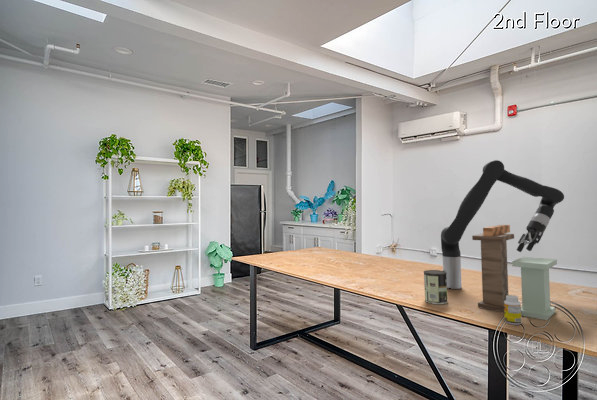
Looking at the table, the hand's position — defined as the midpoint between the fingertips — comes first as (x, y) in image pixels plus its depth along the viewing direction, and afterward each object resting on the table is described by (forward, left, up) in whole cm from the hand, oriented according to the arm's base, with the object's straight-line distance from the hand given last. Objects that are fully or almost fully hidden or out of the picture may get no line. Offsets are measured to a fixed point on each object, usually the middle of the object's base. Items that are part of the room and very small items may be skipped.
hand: (523, 250), depth 176 cm
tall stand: (-16, -27, -22) cm, 39 cm away
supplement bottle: (-13, -50, -22) cm, 56 cm away
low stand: (-2, -34, -22) cm, 40 cm away
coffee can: (-41, -27, -22) cm, 54 cm away
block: (-14, -23, +10) cm, 29 cm away
